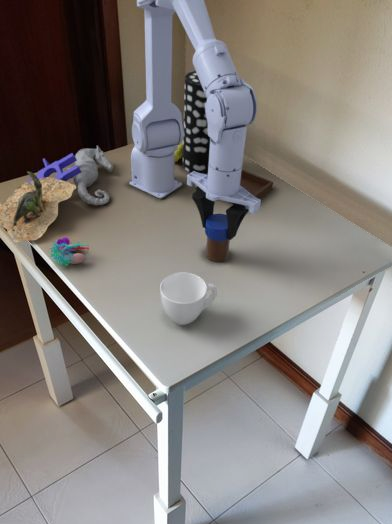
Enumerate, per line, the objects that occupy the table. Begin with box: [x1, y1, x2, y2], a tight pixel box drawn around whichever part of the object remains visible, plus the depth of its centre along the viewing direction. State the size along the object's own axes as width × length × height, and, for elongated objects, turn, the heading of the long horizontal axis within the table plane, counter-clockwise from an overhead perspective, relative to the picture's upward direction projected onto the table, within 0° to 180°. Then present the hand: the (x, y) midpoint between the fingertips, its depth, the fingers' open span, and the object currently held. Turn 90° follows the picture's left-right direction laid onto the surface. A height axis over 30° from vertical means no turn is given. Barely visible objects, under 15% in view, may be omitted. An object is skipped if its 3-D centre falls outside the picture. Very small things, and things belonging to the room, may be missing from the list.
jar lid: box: [204, 213, 228, 241], centre depth 93 cm, size 5×5×3 cm
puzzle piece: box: [26, 152, 81, 182], centre depth 108 cm, size 10×12×2 cm
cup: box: [159, 271, 218, 326], centre depth 84 cm, size 8×10×7 cm
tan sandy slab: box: [0, 171, 77, 243], centre depth 100 cm, size 18×14×8 cm
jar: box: [205, 236, 231, 263], centre depth 95 cm, size 4×4×7 cm
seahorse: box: [64, 145, 114, 206], centre depth 112 cm, size 5×12×20 cm
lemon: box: [174, 140, 183, 163], centre depth 122 cm, size 4×8×4 cm
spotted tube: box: [182, 70, 210, 175], centre depth 114 cm, size 8×8×20 cm
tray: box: [229, 168, 274, 205], centre depth 114 cm, size 11×11×2 cm
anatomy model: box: [49, 237, 90, 267], centre depth 93 cm, size 5×8×7 cm
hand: (218, 231), depth 94 cm, fingers closed on jar lid, 5 cm apart
